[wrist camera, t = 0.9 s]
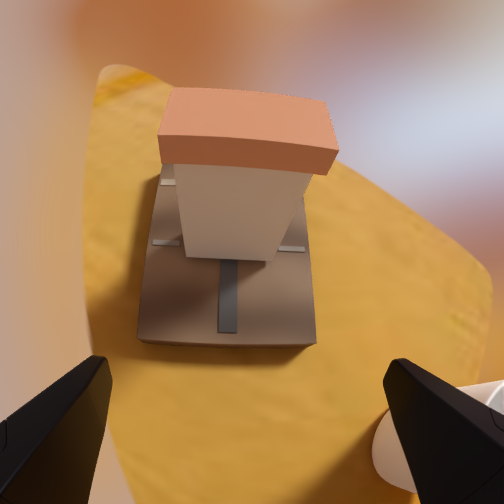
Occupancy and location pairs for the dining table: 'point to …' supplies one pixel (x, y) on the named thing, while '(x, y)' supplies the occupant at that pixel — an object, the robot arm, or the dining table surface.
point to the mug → (389, 447)
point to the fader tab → (242, 166)
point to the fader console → (223, 288)
